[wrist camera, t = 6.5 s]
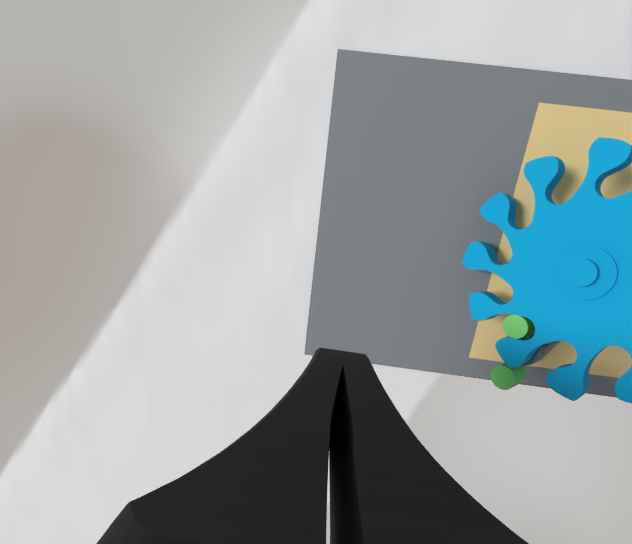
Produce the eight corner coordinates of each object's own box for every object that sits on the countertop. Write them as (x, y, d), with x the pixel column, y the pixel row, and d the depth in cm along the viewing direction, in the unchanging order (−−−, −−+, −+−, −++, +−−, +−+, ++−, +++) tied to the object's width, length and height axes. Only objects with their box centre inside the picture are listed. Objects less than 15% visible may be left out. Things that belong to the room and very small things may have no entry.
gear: (560, 86, 16) (912, 246, 10) (602, 122, 20) (870, 251, 14) (405, 301, 21) (580, 484, 15) (463, 295, 25) (618, 438, 19)
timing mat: (768, 96, 17) (782, 96, 17) (632, 393, 23) (639, 400, 22) (338, 51, 18) (337, 49, 17) (305, 348, 23) (304, 354, 23)
